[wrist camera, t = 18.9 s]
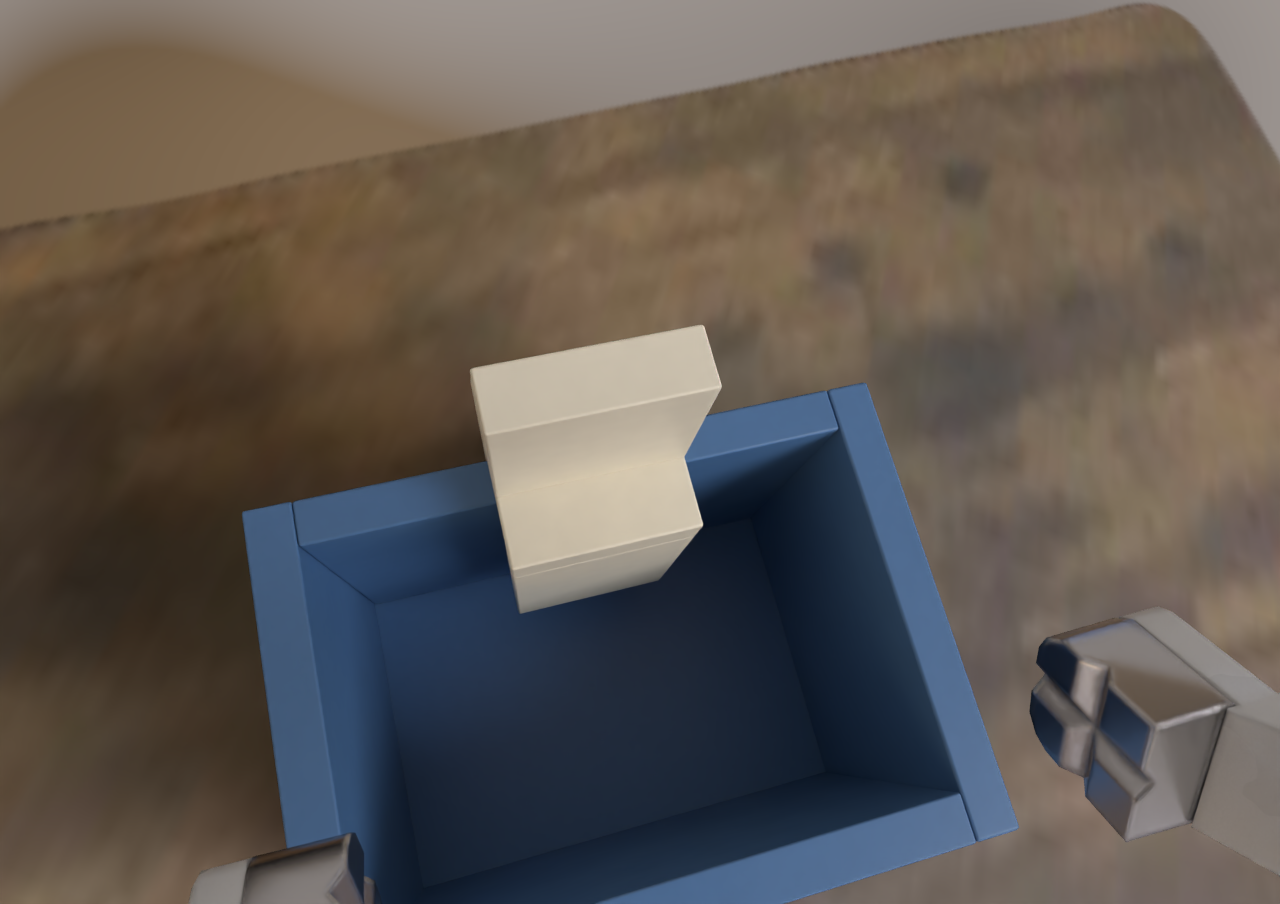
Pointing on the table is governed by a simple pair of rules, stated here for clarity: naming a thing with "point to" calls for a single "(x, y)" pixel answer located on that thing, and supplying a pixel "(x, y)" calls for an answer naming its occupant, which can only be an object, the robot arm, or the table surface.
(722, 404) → the table surface
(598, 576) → the cream l-shaped step block
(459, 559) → the box
